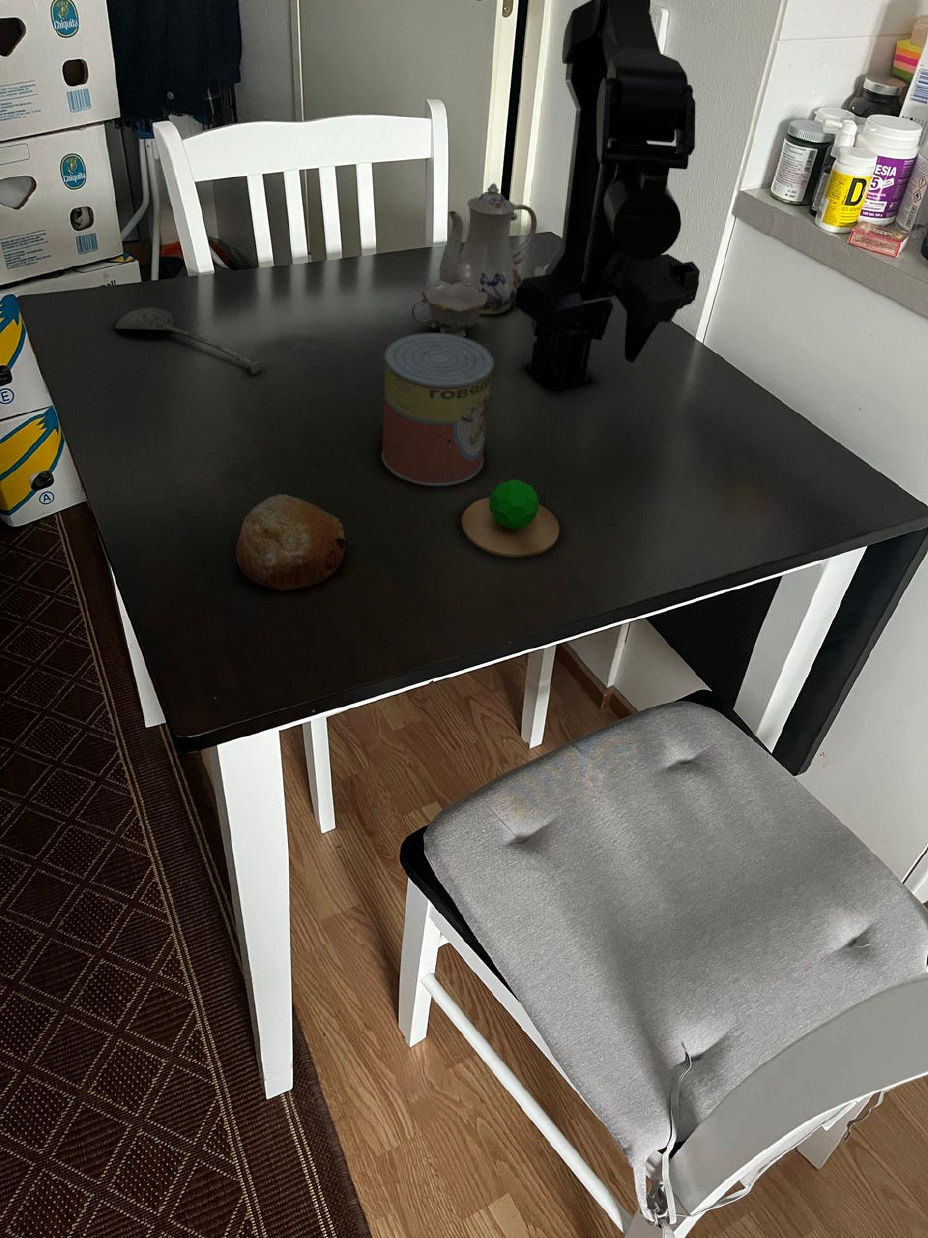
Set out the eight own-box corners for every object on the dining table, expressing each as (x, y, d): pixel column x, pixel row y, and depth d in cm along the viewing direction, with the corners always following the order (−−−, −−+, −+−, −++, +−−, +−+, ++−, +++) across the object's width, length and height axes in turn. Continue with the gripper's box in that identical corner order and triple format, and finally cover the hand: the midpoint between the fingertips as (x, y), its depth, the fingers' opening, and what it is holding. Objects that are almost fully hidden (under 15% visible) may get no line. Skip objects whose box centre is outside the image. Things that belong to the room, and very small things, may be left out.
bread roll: (262, 554, 100) (222, 495, 95) (355, 521, 98) (319, 458, 93) (255, 620, 93) (211, 560, 88) (355, 585, 91) (316, 522, 86)
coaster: (524, 489, 106) (524, 486, 106) (577, 541, 100) (578, 538, 100) (443, 512, 102) (444, 509, 102) (494, 568, 96) (495, 565, 96)
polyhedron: (477, 524, 100) (482, 485, 97) (503, 503, 103) (508, 464, 100) (519, 544, 98) (525, 505, 95) (544, 521, 101) (551, 483, 98)
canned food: (447, 498, 104) (456, 397, 96) (361, 461, 108) (362, 360, 100) (501, 453, 111) (514, 355, 103) (418, 419, 115) (424, 322, 107)
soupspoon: (144, 316, 130) (106, 336, 126) (139, 292, 127) (100, 311, 123) (274, 363, 122) (239, 386, 118) (271, 338, 119) (235, 360, 115)
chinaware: (443, 367, 128) (462, 245, 116) (374, 304, 136) (385, 184, 124) (602, 323, 142) (632, 210, 130) (530, 268, 150) (553, 157, 138)
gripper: (593, 263, 83) (565, 425, 94) (755, 235, 91) (713, 387, 101) (521, 216, 90) (503, 371, 100) (678, 194, 98) (646, 340, 108)
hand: (594, 368), depth 102 cm, fingers open, 9 cm apart
